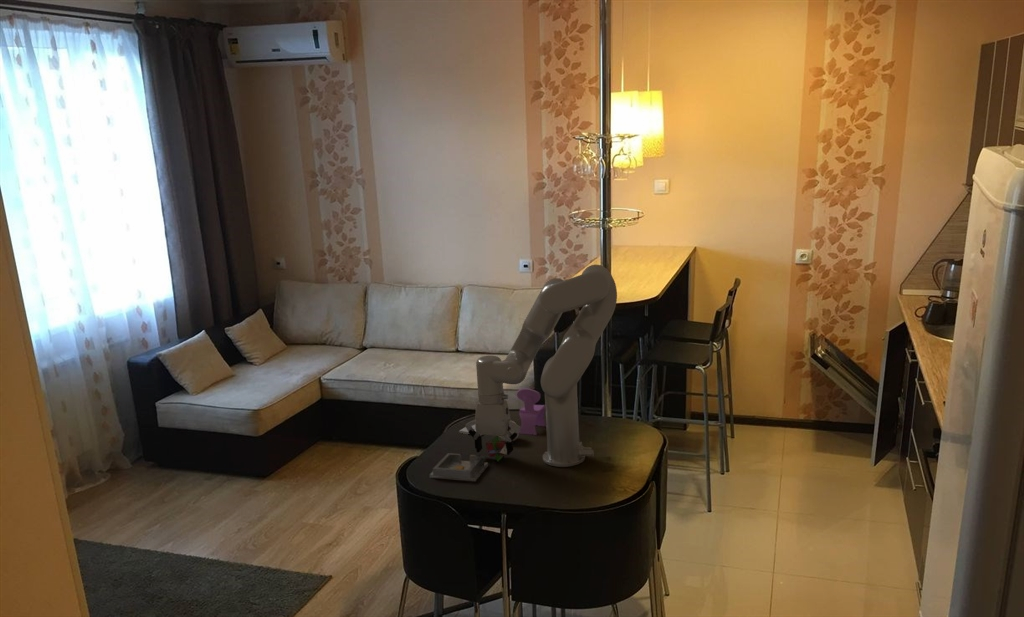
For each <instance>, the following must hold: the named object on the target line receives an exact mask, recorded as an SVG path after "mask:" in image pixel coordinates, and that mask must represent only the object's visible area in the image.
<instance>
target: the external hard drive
mask: <svg viewBox="0 0 1024 617" xmlns="http://www.w3.org/2000/svg"><path fill="white" fill-rule="evenodd" d="M472 428H473V429H474V430H475V431H476V429H475V425H473V426H472ZM458 433H459V434H462V433H463V434H462V435H468V434H469V431H468V430H467V428H466V427H463V428H462V429H460V430H458ZM480 436H481V437H482V436H483V435H482V434H480Z"/></svg>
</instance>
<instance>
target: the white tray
mask: <svg viewBox="0 0 1024 617" xmlns="http://www.w3.org/2000/svg"><path fill="white" fill-rule="evenodd" d="M468 459H469V460H462V453H453V452H451V453H450V452H448V453H446V454H445V456H444V457H442V458H441V459H440V461H438V462H437V464H436V465H435V466H434V467H432V471H431V472H430V473H429V479H440V480H451V481H452V480H453V481H454V480H455V481H462V482H464V481H465V482H476V481H477V480H478V479H479V477H480V476H481V475H482V474H483V473H484V471H485V470H486V469H487V468H488V466H489V463H488V462H486V461H485V456H484V455H480V454H470V455H469V458H468Z"/></svg>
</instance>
